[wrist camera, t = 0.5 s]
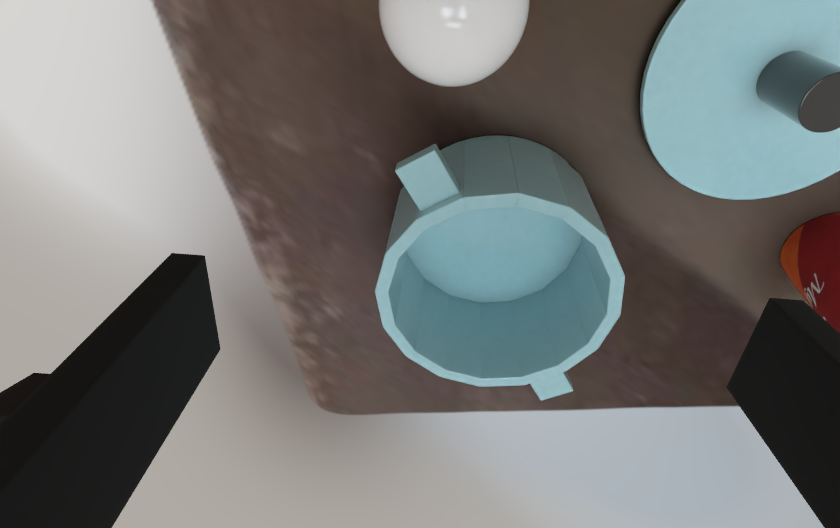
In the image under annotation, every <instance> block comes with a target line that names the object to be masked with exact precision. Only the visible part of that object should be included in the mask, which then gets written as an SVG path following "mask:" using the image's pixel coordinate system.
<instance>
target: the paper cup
mask: <svg viewBox="0 0 840 528" xmlns="http://www.w3.org/2000/svg"><path fill="white" fill-rule="evenodd" d="M780 261H781V264H782V267H783V269H784V270H785V272H786V273H787V275H788V276H789V278H790V279H791V281H792V282H793V283H794V285H795V286H796V288H797V289H798V290H799V292H800V293H801V294H802V296H803V297H804V298H805V300H806V301H807V302H808V304H809V305H810V306H811V308H812V309H813V310H814V311H815V312H816V313H818V314H819V315H820V316H821V317H822V318H823V319H824V320H825V321H827V322H828V323H829V324H830V325H831V326H832V327H833V328H835V329H836V330H837V331H838V332H839V333H840V213H833V214H827V215H823V216H820V217H817V218H815V219H812V220H810V221H808V222H807V223H805V224H803V225H802V226H800V227H799V228H798V229H796V230H795V231H794V232H793V233H792V234H791V235H790V236H789V237H788V239H787V240H786V242H785V243H784V245H783V247H782V250H781V254H780Z"/></svg>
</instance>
